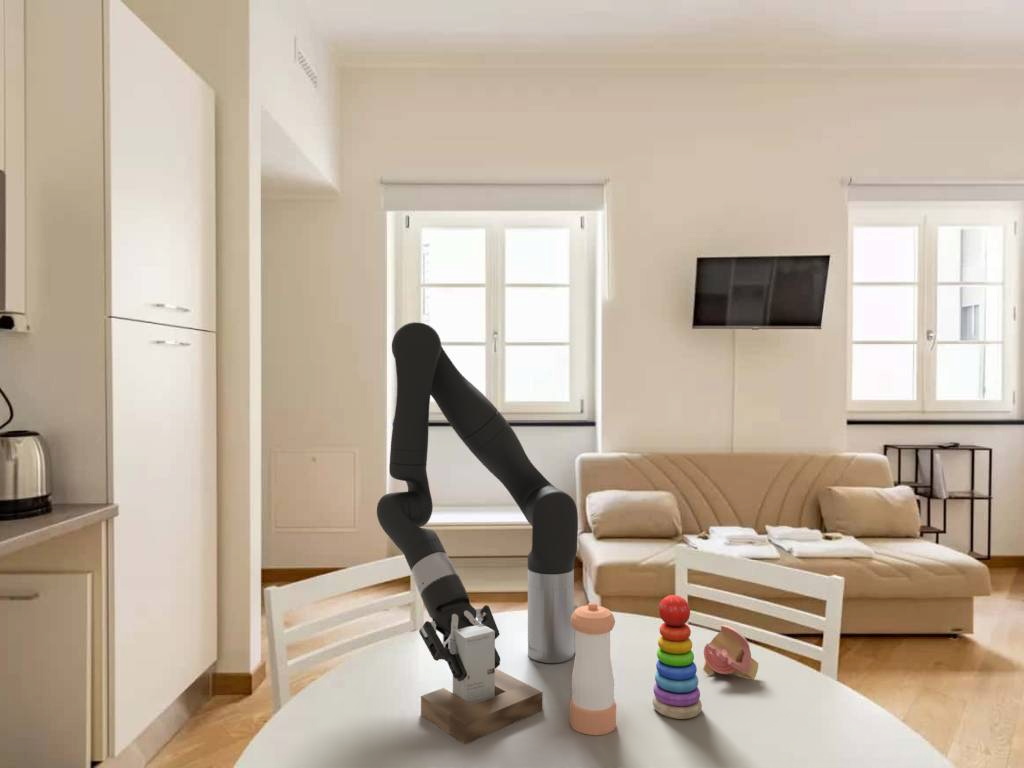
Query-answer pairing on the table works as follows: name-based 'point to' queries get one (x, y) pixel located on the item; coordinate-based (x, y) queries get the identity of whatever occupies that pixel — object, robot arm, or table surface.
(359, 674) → the table surface
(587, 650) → the pepper shaker
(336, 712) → the table surface
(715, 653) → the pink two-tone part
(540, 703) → the notched board
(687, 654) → the stacking toy
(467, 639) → the skincare box
